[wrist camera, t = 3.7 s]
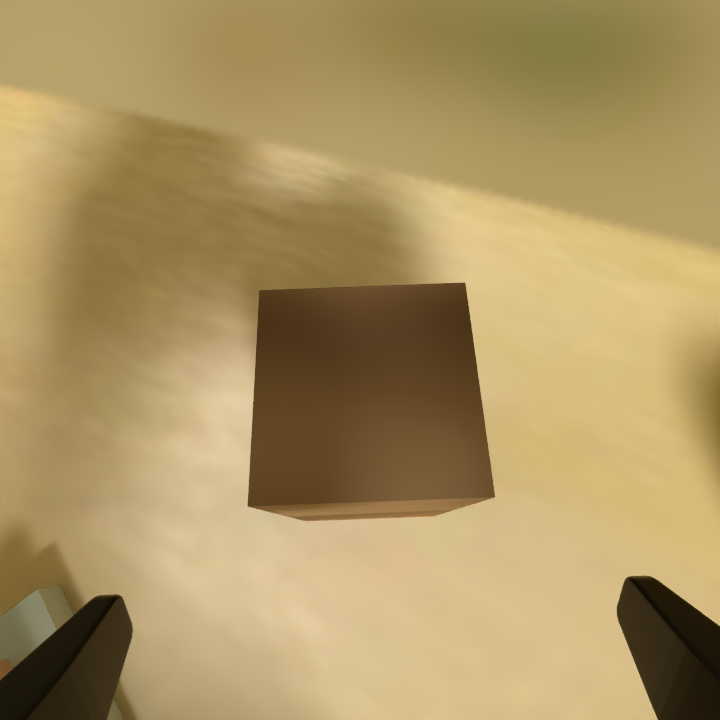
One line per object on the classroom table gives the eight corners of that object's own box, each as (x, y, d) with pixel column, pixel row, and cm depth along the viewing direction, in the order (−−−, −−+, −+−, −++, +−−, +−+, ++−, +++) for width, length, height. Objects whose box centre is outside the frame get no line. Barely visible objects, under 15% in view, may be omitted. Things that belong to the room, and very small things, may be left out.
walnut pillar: (433, 516, 19) (494, 497, 10) (305, 520, 19) (248, 506, 10) (422, 393, 21) (465, 282, 12) (306, 398, 21) (259, 290, 12)
